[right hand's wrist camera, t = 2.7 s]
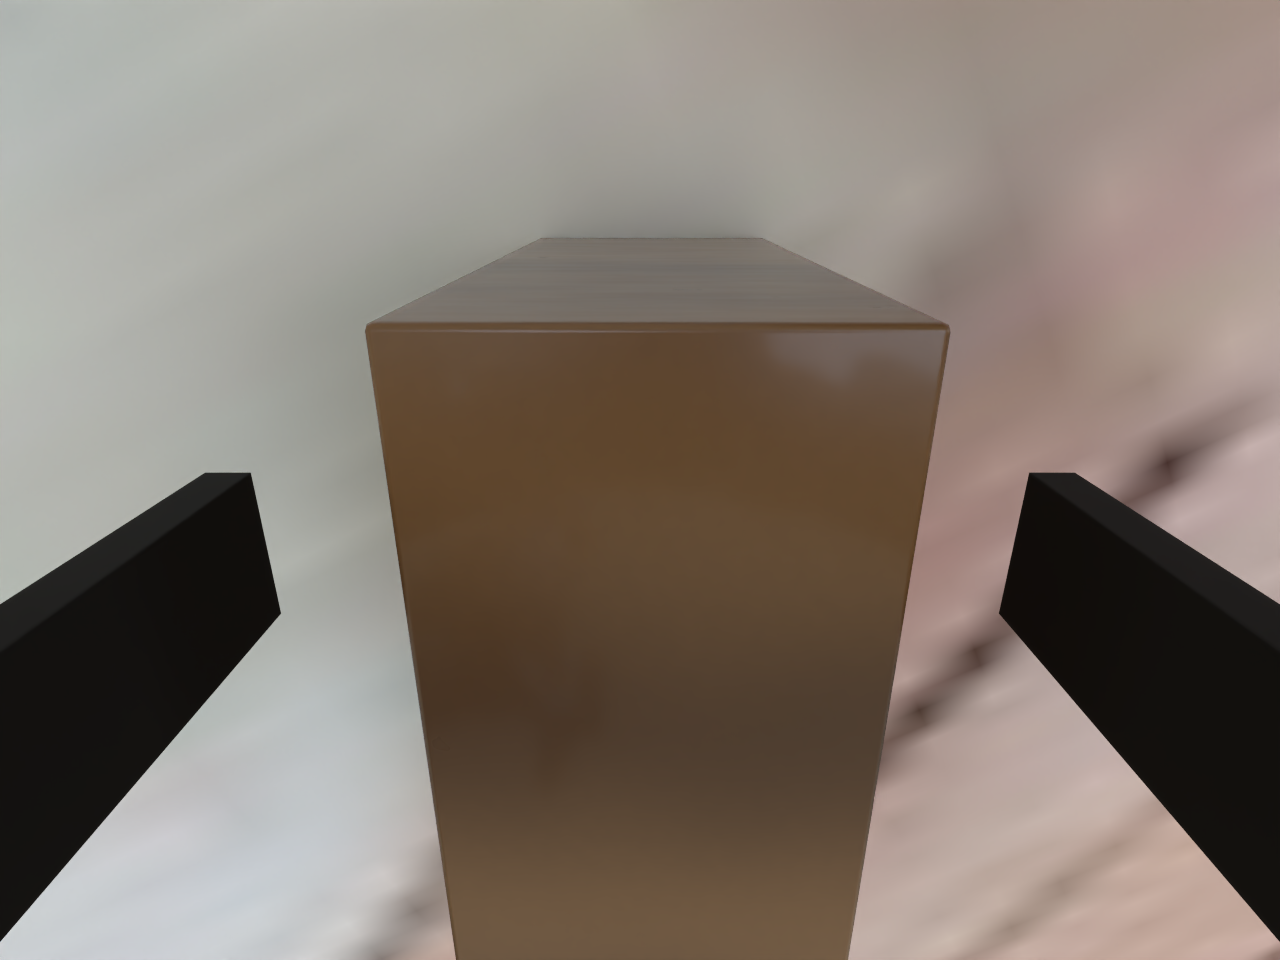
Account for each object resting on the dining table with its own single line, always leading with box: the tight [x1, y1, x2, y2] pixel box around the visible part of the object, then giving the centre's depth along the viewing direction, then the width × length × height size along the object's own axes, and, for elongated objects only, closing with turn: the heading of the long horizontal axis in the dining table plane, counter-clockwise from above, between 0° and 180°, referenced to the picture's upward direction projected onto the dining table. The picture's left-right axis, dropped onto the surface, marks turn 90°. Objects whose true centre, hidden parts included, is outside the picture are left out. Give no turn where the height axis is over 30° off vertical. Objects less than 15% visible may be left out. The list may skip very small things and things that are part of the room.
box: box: [365, 238, 950, 960], centre depth 18 cm, size 24×6×13 cm, turn 0°
